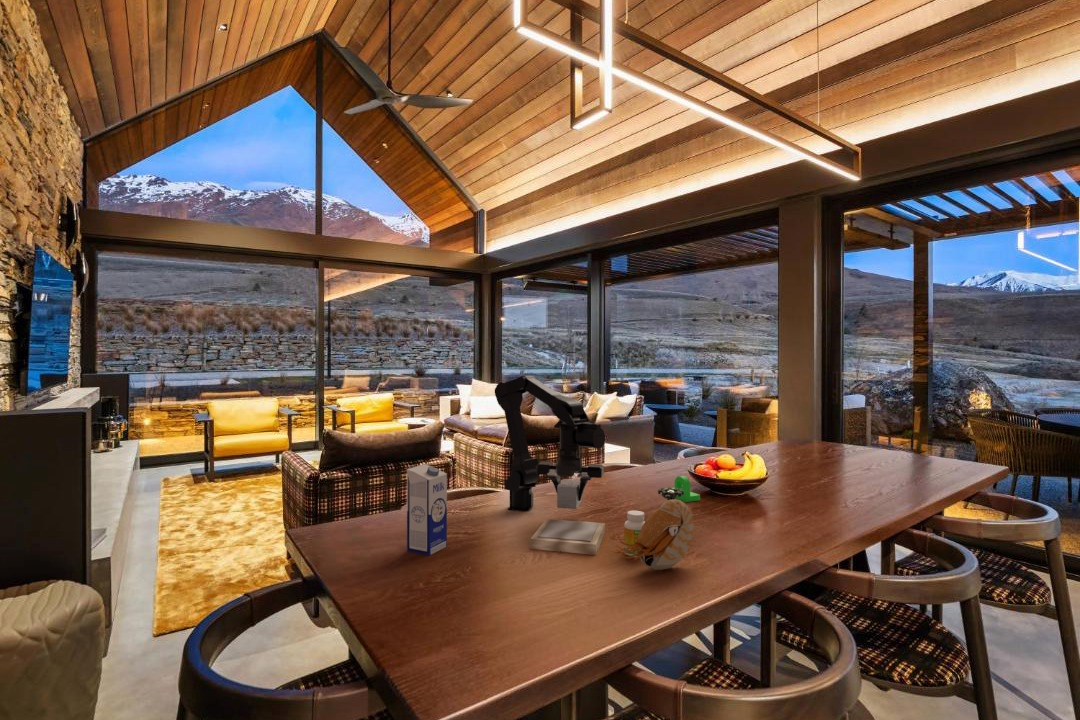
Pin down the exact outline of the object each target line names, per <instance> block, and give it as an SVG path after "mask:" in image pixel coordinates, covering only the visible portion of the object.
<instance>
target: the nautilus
mask: <svg viewBox="0 0 1080 720" xmlns="http://www.w3.org/2000/svg"><path fill="white" fill-rule="evenodd" d="M693 517H694V516H693V511H692V509H691V508H690V507H689V506H688V504H686V502H683V501H681V500H678V499H676V498H675V499H673V500H667V499H666V501H664V502H663V503H662V504H661V505H660V507H658V508H657V509H655V511H652V513H650V515H649V516H648V517H647V518H646V519H645V520H644V521H645V523H644V524H643V526H642V528H641V531H640V533H639V537H638V539H637V541H636V542H635V543H634V544H633V545H634V546H633V545H631V544H625V543H624V541H622V539H621V538H620V537H619V536H617V539H619V543H620V544H623V545H624V544H625V545H626V546H628V545H631V546H633V547H631V546H628V547H627V548H628V549H631V550H628V549H627V548H624V547H623V548H622V547H620V546H618V545H616V547H617V548H619V549H620V550H618V549H616V551H612V550H611V552H612V553H614V554H621V557H623V558H625V559H626V558H627V559H634V561H636V560H638V559H640V561H641V562H642V564H643V565H645V566H646V567H647V568H649V569H652V570H655V571H657V570H658V571H660V570H661V571H663V570H664V571H665V570H667V569H671V568H673V567H674V566H675V565H677V564H678V563H679V562H681V560H682V559H683V558H684V557H685V556H686V555H687V554H686V553H688V550H689V548H690V546H691V544H692V540H693V535H694V518H693ZM625 550H626V551H628V552H629V551H633V552H634V551H636V550H638V551H639V552H637V554H635V555H633V556H638V557H633V556H630V555H628V554H626V553H628V552H626V553H625V552H624V551H625ZM633 552H631V553H633ZM629 554H630V553H629Z"/></svg>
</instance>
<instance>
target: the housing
mask: <svg viewBox="0 0 1080 720" xmlns="http://www.w3.org/2000/svg"><path fill="white" fill-rule="evenodd" d="M579 489H580V479H569V478H568V479H566V478H563V479H562V480H561V483H560V484H559V485H558V486H557V492H556V494H557V496H556V497H557V498H556V499H557V500H556V501H557V502H556V505H557V506H556V507H557V509H566V510H567V509H568V510H577V509H578V507H579V506H580V505H581V503H582V502H583V497H582V498H581V500H580V501H579Z"/></svg>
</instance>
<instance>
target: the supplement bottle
mask: <svg viewBox="0 0 1080 720" xmlns="http://www.w3.org/2000/svg"><path fill="white" fill-rule="evenodd" d="M626 513H627V515H626V517H627V520H625V522H624V527H623V528H624V532H623V535H624V538H623V540H624V541H623V542H624V543H625V544H631V545H633V544H634V543H635V542H636V541H637V539H638V537H639V533H640V531H641V528H642V526H643V524H644V523H645V521H646V520H645V512H644V511H641V510H640V511H639V510H628V511H627V512H626ZM625 544H623V545H624V547H623V549H624V548H627V547H628V546H631V545H628V546H626V545H625ZM633 546H634V545H633ZM633 546H631V547H633ZM627 549H628V548H627ZM628 550H631V549H628ZM623 552H624V553H626V552H628V551H626V550H625V551H624V550H623ZM631 552H633V551H629V552H628V553H626V554H628V555H630V556H633V555H635V554H637V552H639V551H638V550H636V551H634V552H633V553H631ZM629 553H630V554H629ZM630 556H629V557H630ZM633 557H638V556H633Z"/></svg>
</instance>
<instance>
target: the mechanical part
mask: <svg viewBox="0 0 1080 720" xmlns="http://www.w3.org/2000/svg"><path fill="white" fill-rule="evenodd" d="M664 488H665V489H668V487H664ZM671 488H672V489H676V488H679V489H680V490H683V491H684V495H682V497H678V495H677V496H676V498H675V499H676V500H680V501H682V502H684V503H688V502H689V503H690V502H697V501H698V502H699V501H701V494H698V493H695V492H692V491H691V482H690V480H689V478H688V476H685V475H680V476H676V477H675V479H674V487H671Z"/></svg>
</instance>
